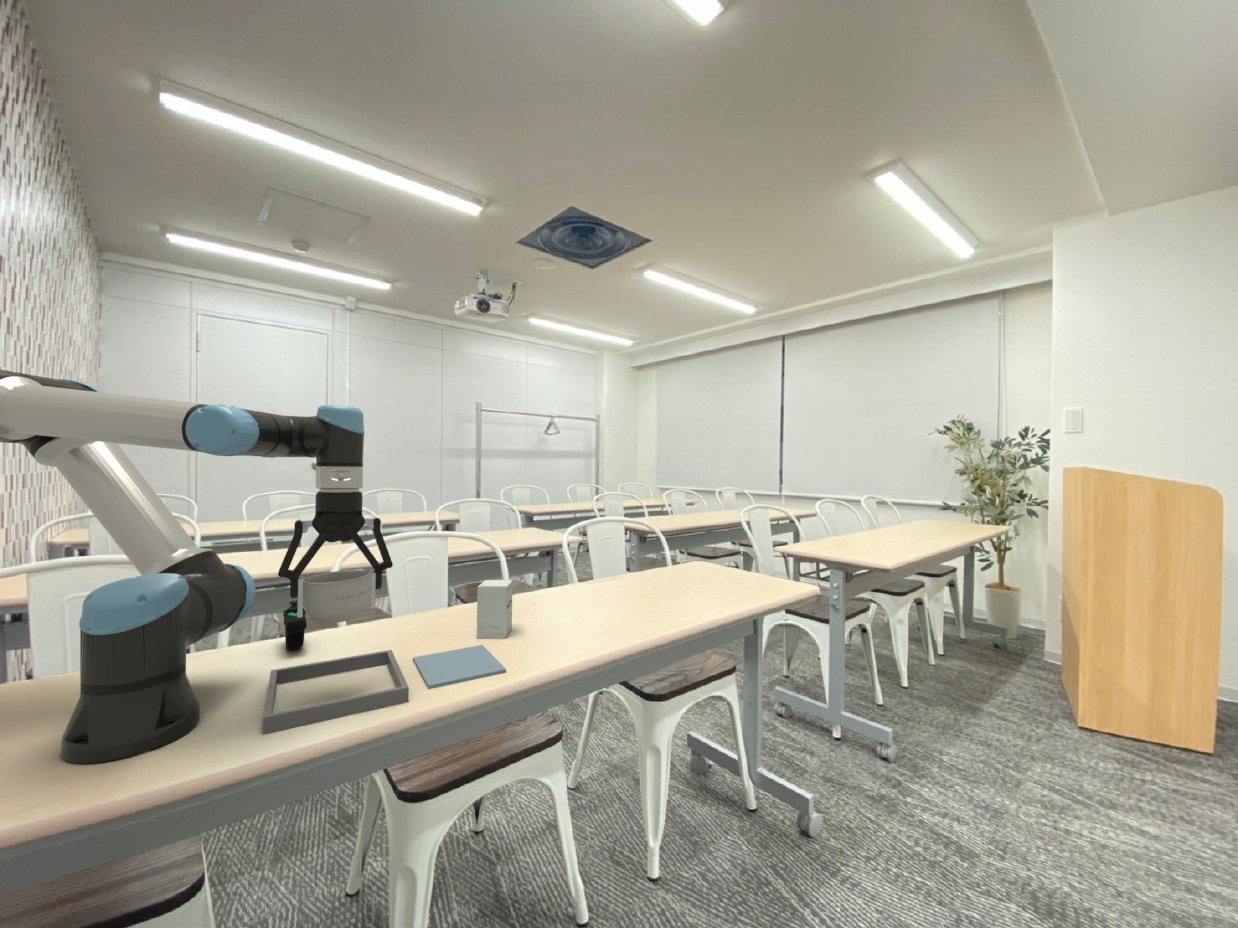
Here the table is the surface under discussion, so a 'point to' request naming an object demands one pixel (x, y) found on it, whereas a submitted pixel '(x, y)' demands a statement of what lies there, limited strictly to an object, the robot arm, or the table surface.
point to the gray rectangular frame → (335, 707)
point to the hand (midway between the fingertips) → (337, 610)
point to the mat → (457, 666)
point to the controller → (294, 626)
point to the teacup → (337, 595)
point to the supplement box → (494, 608)
